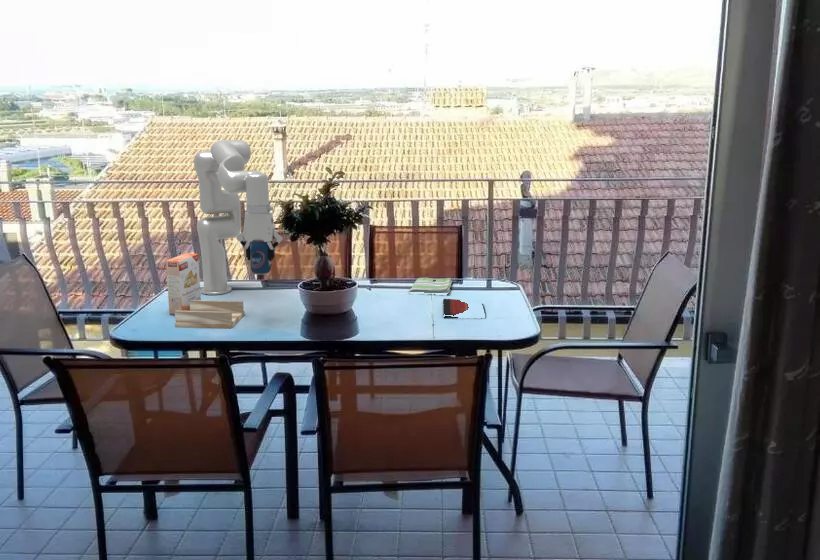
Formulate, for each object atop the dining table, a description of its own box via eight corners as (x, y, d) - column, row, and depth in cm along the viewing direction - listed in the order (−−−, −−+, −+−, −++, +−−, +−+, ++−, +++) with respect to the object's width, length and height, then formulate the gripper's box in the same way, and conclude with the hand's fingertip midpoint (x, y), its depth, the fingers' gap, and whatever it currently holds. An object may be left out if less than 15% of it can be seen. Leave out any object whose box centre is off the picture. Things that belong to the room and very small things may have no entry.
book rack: (192, 313, 244) (191, 299, 243) (244, 314, 243) (243, 300, 242) (175, 327, 229) (173, 312, 227) (230, 328, 228) (229, 313, 226)
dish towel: (407, 295, 272) (407, 287, 271) (415, 281, 294) (415, 274, 293) (448, 297, 269) (448, 289, 268) (453, 283, 291) (453, 275, 290)
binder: (443, 313, 240) (443, 298, 260) (442, 319, 240) (442, 303, 260) (486, 316, 239) (483, 300, 259) (486, 322, 240) (482, 306, 260)
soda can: (248, 274, 227) (246, 240, 224) (255, 269, 233) (253, 236, 230) (267, 275, 226) (265, 241, 223) (273, 270, 232) (272, 237, 229)
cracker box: (183, 316, 241) (179, 261, 236) (169, 315, 242) (164, 260, 237) (202, 305, 254) (198, 253, 249) (188, 304, 256) (184, 252, 250)
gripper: (285, 208, 227) (287, 257, 231) (236, 207, 228) (239, 256, 232) (280, 211, 220) (282, 262, 224) (229, 210, 220) (232, 261, 225)
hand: (260, 259), depth 228 cm, fingers closed on soda can, 7 cm apart
